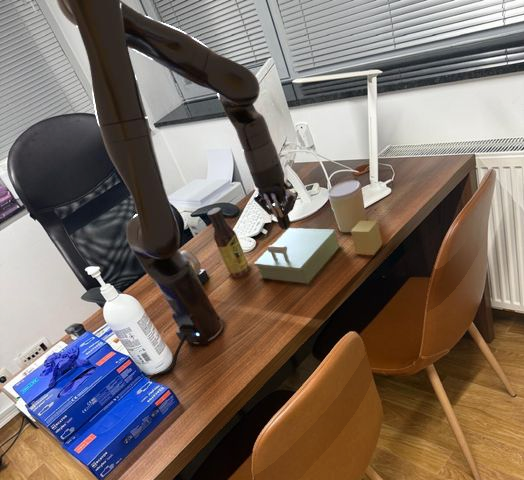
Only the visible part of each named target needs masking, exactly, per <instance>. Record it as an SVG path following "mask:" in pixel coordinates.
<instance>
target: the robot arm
mask: <svg viewBox="0 0 524 480" xmlns="http://www.w3.org/2000/svg"><path fill="white" fill-rule="evenodd" d="M56 3H57V5H58V8H59V9H60V12H61V13H62V15H63V16H64V17H65V18H66V19H67V20H68V22H70V24H72V25H74V26H76V27H77V29H78V32H79V34H80V37H81V38H80V39H81V41H82V44H83V46H84V50H85V53H86V56H87V61H88V65H89V71H90V77H91V78H90V79H91V80H90V81H91V88H92V97H93V98H92V99H93V104H94V105H93V106H94V110H95V117H96V121H97V124H98V127H99V130H100V133H101V134H100V135H101V137H102V140H103V144H104V147H105V149H106V153H107V155H108V157H109V159H110V161H111V162H112V164H113V166H114V167H115V170H116V171H117V173H118V174H119V176H120V178H121V179H122V181H123V183H124V184H125V185H126V187H127V190H128V191H129V193H130V196H131V198H132V200H133V203H134V206H135V211H136V214H135V215H134V216H133V217H131V219H129V221H128V223H127V225H126V232H125V233H126V240H127V243H128V245H129V247H130V249H131V251H132V253H133V254H134V255H135V257H136V259H137V260H138V262H139V264H140V266H141V267H142V268H143V270H144V271H145V273H146V274H147V275H148V276H149V277H150V279H151V280H152V281H153V282H154V283H155V284H156V286H157V287H158V289H159V291H160V292H161V294H162V296H164V299H165V301H166V303H167V304H168V306H169V308H170V309H171V311H172V314H171V318H172V319H173V321H174V322H175V324H176V326H177V327H178V329H177V330H176V331H175V335H176V336H177V338H178V339H179V341H180V342H179V344H178V345H177V348H176V350H175V351H174V354H173V360H172V364H171V366H170V367H168V368H166V369H164V370H162V371H158V372H159V373H157V372H156V373H157V374H154V373H152V374H153V375H152V374H151V375H150V376H149V377H148V378H149V379H150V380H151V381H152V380H153V379H154V378H155V377H158V376H163V375H165V374H168V373H170V372H171V371H173V370H174V369H175V367H176V364H177V361H178V360H177V359H178V355H179V353H180V351H181V349H182V347H183V345H184V344H185V342H187V344H189V345H199V346H200V345H201V346H207V345H208V344H209V343H210V342H212V341H213V340H215V339H216V338H218V337H219V336H220V334H221V333H222V331H223V328H224V324H223V321H222V319H221V317H220V316H219V314H218V312H217V311H216V309H215V307H214V305H213V303H212V301H211V300H210V298H209V296H208V293H207V291H206V290H205V288H204V286H203V285H202V284H201V282H200V280H199V278H198V276H197V274H196V273H195V271H194V267H193V264H192V262H191V260H189V259H187V258H186V257H184V256H183V255H182V254H181V253H180V252H181V251H180V250H179V248H180V244H181V233H180V232H181V231H180V227H179V224H178V221H177V219H176V217H175V213H174V211H173V208H172V205H171V202H170V200H169V197H168V193H167V191H166V187H165V184H164V181H163V177H162V176H163V175H162V172H161V168H160V164H159V161H158V157H157V152H156V150H155V144H154V141H153V140H154V139H153V135H152V131H151V127H150V123H149V119H148V114H147V112H146V108H145V105H144V102H143V98H142V93H141V90H140V86H139V83H138V79H137V75H136V73H135V70H134V66H133V63H132V59H131V55H130V51H129V48H130V49H131V50H134V51H136V52H137V53H140V54H141V55H143V56H145V57H147V58H149V59H150V60H152V61H154V62H156V63H157V64H159V65H161V66H163V67H164V68H166V69H168V70H169V71H171V72H173V73H174V74H176V75H178V76H180V77H182V78H183V79H185V80H186V81H188V82H190V83H192V84H193V85H196V86H198V87H200V88H203V89H208V90H211V91H212V92H214V93H216V94H217V97H218V100H219V102H220V105H221V107H222V109H223V111H224V113H225V114H226V117H227V118H228V120H229V121H230V123H231V125H232V126H233V128H234V130H235V132H236V135H237V138H238V141H239V143H240V146H241V149H242V152H243V155H244V160H245V163H246V165H247V169H248V171H249V173H250V176H251V179H252V181H253V185H254V187H255V188H256V189H257V192H258V193H257V195H255V196H254V197H253V200H254V202H255V203H257V205H258V206H259V207H260V208H261V209H262V210H264V211H265V212H266V213H267V214H268V215H269V216H271V215H273V216H274V217H275V218H276V220H277V224H278V226H279V228H280V229H281V230H285V231H287V230H288V229H289V228H291V224H292V223H291V220H290V217H289V213H291V212H292V211H293V210H294V207H295V204H296V202H297V199H298V196H299V193H298V191H291V189H289V186H288V185H287V183H286V182H285V172H284V169H283V166H282V163H281V159H280V157H279V153H278V151H277V148H276V145H275V143H274V141H273V139H272V136H271V132H270V129H269V125H268V123H267V121H266V118H265V117H264V115H263V114H262V113H260V112H259V111H258V110H257V109H256V107H255V105H254V104H255V103H256V102H257V100H258V99H259V96H260V91H261V90H260V87H261V86H260V82H259V79H258V78H257V76H256V75H255V74H254V72H252V71H251V70H250V69H249V68H247V67H246V66H244V65H243V64H240V63H238V62H236V61H234V60H232V59H231V58H228V57H225V56H223V55H220V54H219V53H217V52H215V51H214V50H212V49H211V48H210V47H208V46H207V45H205V44H204V43H202V42H201V41H199V40H197V39H196V38H194V36H193V37H192V36H191V35H190V34H188V33H186V32H184V31H182V30H180V29H178V28H176V27H174V26H171V25H169V24H166V23H163V22H161V21H159V20H156V19H153V18H151V17H149V16H146V15H144V14H143V13H141V12H139V11H137V10H136V9H134V8H132V7H130V6H129V5H128V4H126V3H125V2H123V1H122V0H56Z"/></svg>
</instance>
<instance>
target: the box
mask: <svg viewBox="0 0 524 480" xmlns="http://www.w3.org/2000/svg"><path fill="white" fill-rule="evenodd" d="M339 249H340V243H339V239H338V235H337V231H336V232H335V234H334V235H333V236H332V237H331V238H330V239H329V240H328V241H327V242H326V244H325V245H324V246H323V247H322V248H321V249H320V250H319V251H318V252H317V254H316V255H315V256H314V257H313V258H312V259H311V260H310V261H309V262H308V264H307V265H306V266H305V267H304V268H303V269H302V270H301V271H299V270H290V269H280V268H271V267H261V266H257V268H258V270H259V274H260V276H261V278H262V279H268V280H278V281H284V282H291V283H293V282H294V283H300V284H309V283H310V282H311V281H312V279H313V278H314V277H315V276H316V275H317V274H318V273H319V272H320V270H321V269H322V268H323V267H324V266H325V265H326V263H328V261H329V260H330V259H331V258H332V256H333V255H334V254H335V253H336V252H337V251H338V250H339Z"/></svg>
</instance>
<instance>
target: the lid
mask: <svg viewBox="0 0 524 480" xmlns="http://www.w3.org/2000/svg"><path fill="white" fill-rule="evenodd" d="M335 232H336V233H337V231H336V229H330V228H329V229H328V228H300V227H297V228H295V227H289V228H288V229H287V230H285V231H284V232H283V233H282V235H280V236H279V237H278V238H277V240H276V241H274V242H273V244H272V245H271V244H270V245H268V247H267V250H266V251H264V253H262V254H261V256H260V257H258V259H256V261H254V263H253V265H254V266H255V267H258V266H261V267H271V268H280V269H290V270H299V271H301V270H302V269H303V268H304V267H305V266H306V265H307V264H308V262H309V261H310V260H311V259H312V258H313V257H314V256H315V255H316V254H317V252H318V251H319V250H320V249H321V248H322V247H323V246H324V245H325V244H326V242H327V241H328V240H329V239H330V238H331V237H332V236H333V235H334V234H335Z"/></svg>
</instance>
